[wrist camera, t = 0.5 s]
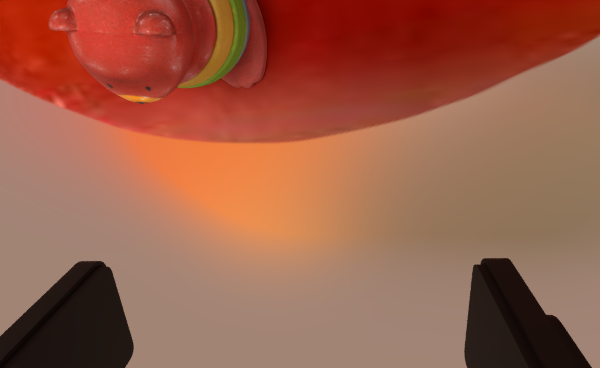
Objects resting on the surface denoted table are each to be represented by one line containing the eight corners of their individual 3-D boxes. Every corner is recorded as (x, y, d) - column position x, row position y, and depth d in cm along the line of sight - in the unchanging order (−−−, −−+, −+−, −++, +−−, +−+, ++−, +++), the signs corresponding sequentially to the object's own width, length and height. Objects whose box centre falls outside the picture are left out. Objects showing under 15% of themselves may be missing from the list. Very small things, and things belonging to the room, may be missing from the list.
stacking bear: (151, 71, 39) (13, 118, 23) (151, -50, 35) (-16, -97, 19) (263, 91, 39) (204, 152, 23) (277, -29, 35) (217, -60, 18)
